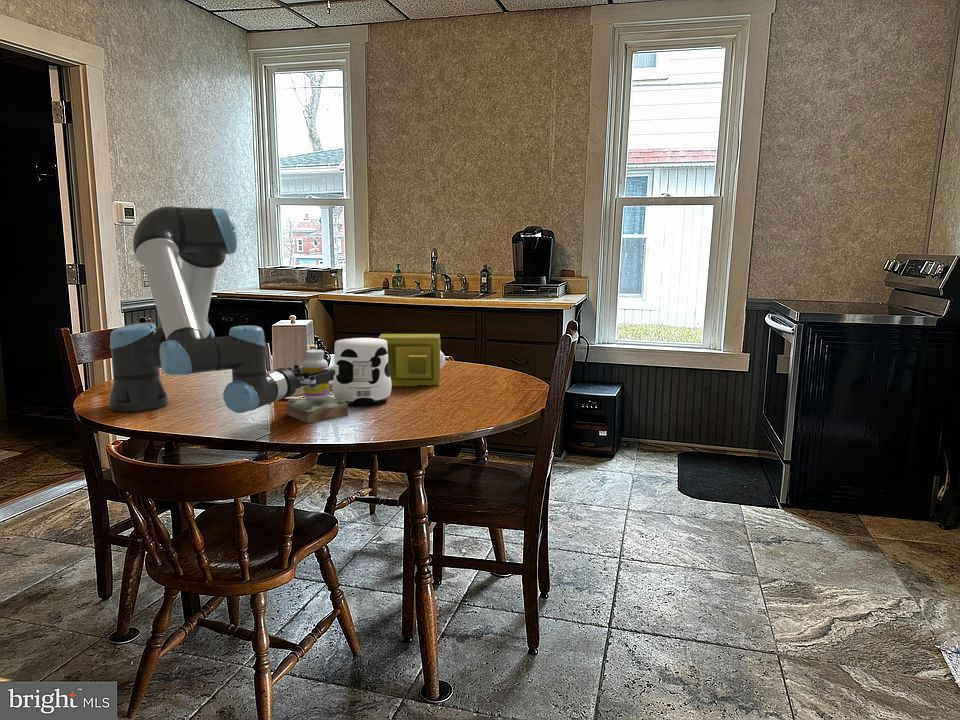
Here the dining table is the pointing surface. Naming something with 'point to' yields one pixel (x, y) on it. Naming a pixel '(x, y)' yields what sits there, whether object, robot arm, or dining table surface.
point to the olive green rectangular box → (414, 359)
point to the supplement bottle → (313, 365)
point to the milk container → (361, 371)
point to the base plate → (317, 409)
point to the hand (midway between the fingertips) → (325, 368)
